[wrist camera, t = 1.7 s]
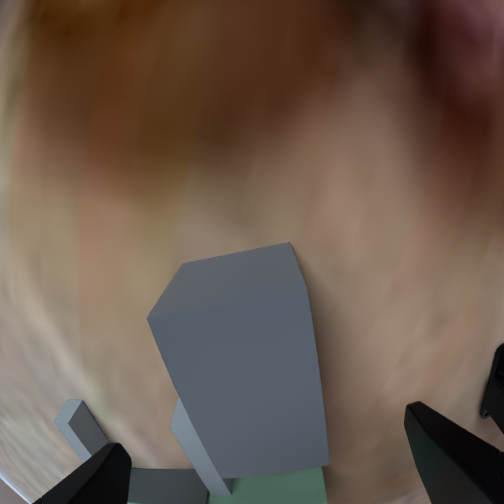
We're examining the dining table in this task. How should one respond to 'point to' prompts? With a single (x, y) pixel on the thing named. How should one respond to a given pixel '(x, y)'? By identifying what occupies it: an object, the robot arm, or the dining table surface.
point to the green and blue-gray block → (191, 481)
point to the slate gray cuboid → (245, 361)
